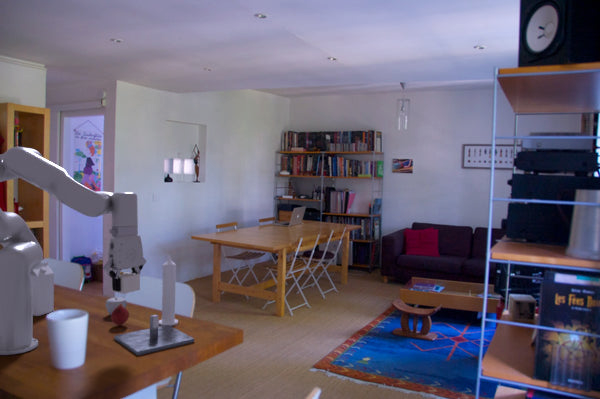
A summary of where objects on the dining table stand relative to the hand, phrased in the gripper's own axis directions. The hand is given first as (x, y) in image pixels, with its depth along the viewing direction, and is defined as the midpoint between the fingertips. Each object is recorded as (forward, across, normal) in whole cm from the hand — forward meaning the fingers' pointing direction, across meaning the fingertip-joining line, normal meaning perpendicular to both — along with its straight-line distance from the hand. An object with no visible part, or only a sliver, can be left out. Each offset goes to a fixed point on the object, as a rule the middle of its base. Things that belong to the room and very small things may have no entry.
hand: (125, 288), depth 148 cm
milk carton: (+17, +3, +54) cm, 57 cm away
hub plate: (+19, +8, -4) cm, 21 cm away
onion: (+18, +11, +17) cm, 27 cm away
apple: (+18, +19, +30) cm, 39 cm away
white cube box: (+1, 0, 0) cm, 1 cm away
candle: (+19, +23, +6) cm, 31 cm away
